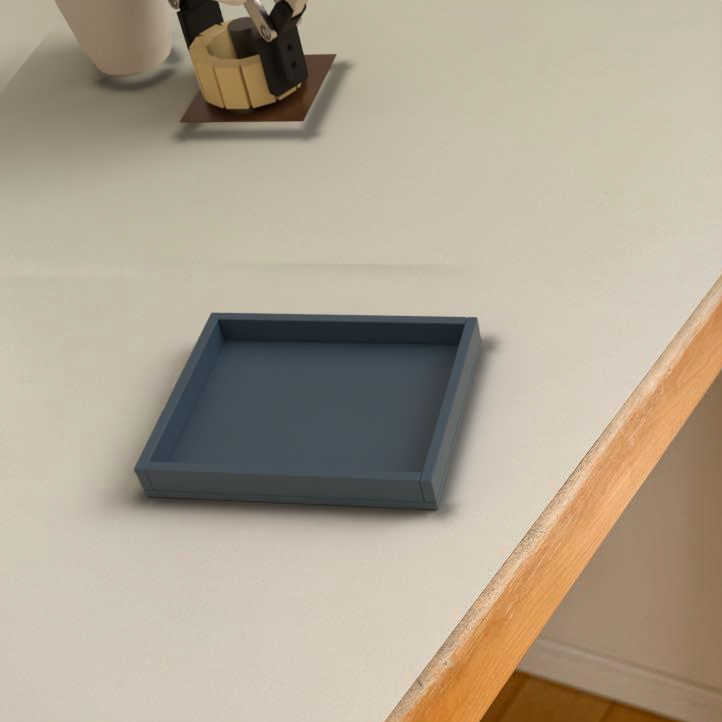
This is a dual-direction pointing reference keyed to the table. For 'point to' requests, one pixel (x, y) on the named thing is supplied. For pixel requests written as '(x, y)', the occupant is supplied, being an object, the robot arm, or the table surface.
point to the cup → (120, 32)
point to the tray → (315, 410)
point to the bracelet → (229, 72)
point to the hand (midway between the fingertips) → (250, 70)
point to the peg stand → (279, 111)
